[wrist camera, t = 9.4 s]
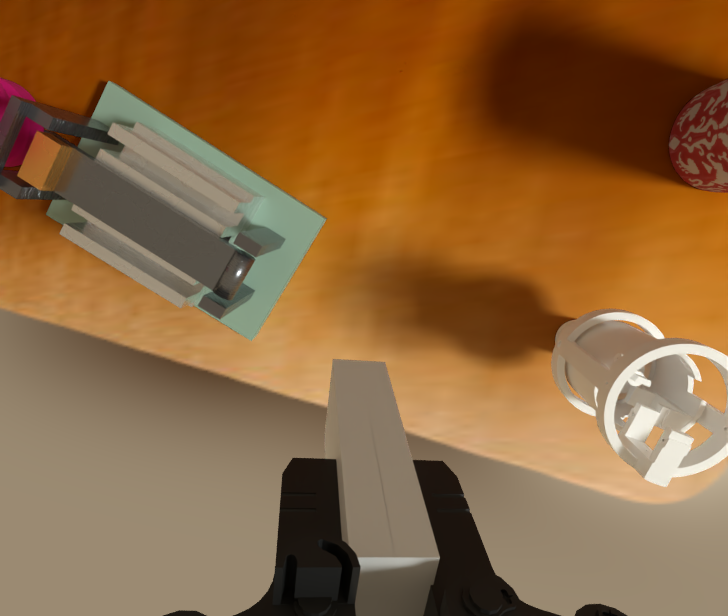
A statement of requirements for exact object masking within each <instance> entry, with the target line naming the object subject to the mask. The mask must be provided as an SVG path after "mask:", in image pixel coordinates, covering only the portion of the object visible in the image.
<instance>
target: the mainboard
mask: <svg viewBox="0 0 728 616" xmlns="http://www.w3.org/2000/svg"><path fill="white" fill-rule="evenodd" d="M91 118H92V119H96V120H98V121H100V122H102V123H103V124H105V125H106V126H108V127H111V125H112V123H113V122H114V123H117V124H120V125H124V126H127V127H130V128H134V126H135V124H136V122H139V123H142V124H145V125H148V126H151V127H154V128H157V129H159V130H161V131H162V132H164V133H165V134H167V135H168V136H170V137H172V138H173V139H175V140H176V141H178V142H179V143H181V144H183V145H184V146H186V147H187V148H189V149H190V150H192V151H194V152H195V153H197V154H198V155H200V156H201V157H203V158H205V159H206V160H208V161H209V162H211V163H212V164H214V165H216V166H217V167H219V168H220V169H222V170H223V171H225V172H226V173H228V174H230V175H231V176H233V177H234V178H236V179H237V180H239V181H241V182H242V183H244V184H245V185H247V186H248V187H250V188H252V189H253V190H255V191H256V192H258V193H259V194H261V195H263V196H264V197H265V199H264V200H263V202H262V204H261V206H260V207H259V209H258V211H257V213H256V215H255V216H254V218H253V220H252V222H251V223H250V225H249V227H248V229H247V230H246V231H248V230H254V229H260V228H266V227H268V228H269V229H271V230H272V231H274V232H275V233H277V234H279V235H280V236H282V237H283V238H285V239H286V240H285V241H284V243H283V245H282V246H281V248H280V249H277V250H274V251H272V252H269V253H266V254H264V255H261V256H258V257H254V256H253V257H254V258H255V262H254V264H253V265H252V267H251V269H250V270H249V272H248V274H247V276H246V277H245V279H244V281H243V282H242V283H244V284H245V285H247V286H249V287H250V288H252V289H253V290H255V292H254V294H253V296H252V297H251V299H250V300H249V301H247V302H246V303H244V304H242V305H241V306H239V307H238V308H236V309H235V310H233V311H232V312H230V313H229V314H227V315H226V316H224V317H223V318H221V319H218V318H216V317H215V316H213V315H212V314H210V313H208V312H207V311H205V310H203V309H202V308H200V307H199V306H198V304H197V305H195V307H197V308H199V309H200V310H202V311H203V312H205V313H207V314H208V315H210V316H212V317H213V318H215V319H217V320H218V321H220V322H221V323H223V324H225V325H226V326H228V327H230V328H231V329H233V330H234V331H236V332H238V333H239V334H241V335H243V336H244V337H246V338H247V339H249V340H251V341H252V340H253V339H254V338H255V337H256V336H257V334H258V332H259V331H260V329H261V327H262V326H263V324H264V322H265V321H266V319H267V317H268V316H269V314H270V312H271V311H272V309H273V307H274V306H275V304H276V302H277V301H278V299H279V297H280V296H281V294H282V292H283V291H284V289H285V287H286V286H287V284H288V283H289V281H290V279H291V278H292V276H293V274H294V273H295V271H296V269H297V268H298V266H299V264H300V263H301V261H302V259H303V258H304V256H305V254H306V253H307V251H308V249H309V248H310V246H311V244H312V243H313V241H314V239H315V238H316V236H317V234H318V233H319V231H320V229H321V228H322V226H323V224H324V223H325V221H326V220H327V218H325V217H324V216H322V215H321V214H319V213H317V212H316V211H314V210H313V209H311V208H310V207H308V206H307V205H305V204H303V203H302V202H300V201H299V200H297V199H296V198H294V197H292V196H291V195H289V194H288V193H286V192H285V191H283V190H282V189H280V188H278V187H277V186H275V185H274V184H272V183H271V182H269V181H267V180H266V179H264V178H263V177H261V176H260V175H258V174H257V173H255V172H253V171H252V170H250V169H249V168H247V167H246V166H244V165H242V164H241V163H239V162H238V161H236V160H235V159H233V158H232V157H230V156H228V155H227V154H225V153H224V152H222V151H221V150H219V149H217V148H216V147H214V146H213V145H211V144H210V143H208V142H207V141H205V140H203V139H202V138H200V137H199V136H197V135H196V134H194V133H192V132H191V131H189V130H188V129H186V128H185V127H183V126H182V125H180V124H178V123H177V122H175V121H174V120H172V119H171V118H169V117H167V116H166V115H164V114H163V113H161V112H160V111H158V110H157V109H155V108H153V107H152V106H150V105H149V104H147V103H146V102H144V101H142V100H141V99H139V98H138V97H136V96H135V95H133V94H132V93H130V92H128V91H127V90H125V89H124V88H122V87H121V86H119V85H117V84H115V83H113V82H111V81H108V83H107V85H106V87H105V89H104V92H103V94H102V96H101V98H100V100H99V102H98V104H97V106H96V109H95V111H94V113H93V115H92V117H91ZM124 146H125V145H124V144H122V143H121V142H119V143H118V145H113V144H109V143H104V142H100V141H95V140H91V139H86V138H81V141H80V143H79V145H78V148H80V149H82V150H83V151H85V152H86V153H88V154H89V155H91V156H93V157H94V158H96V157H97V154H98V152H99V150H100V148H101V149H106V150H111V151H116V152H122V150H123V148H124ZM72 207H73V203H71V202H70V201H68V200H52V202H51V204H50V207H49V209H48V211H47V213H46V215H47V216H49V217H51V218H52V219H54V220H55V221H57V222H59V223H60V224H62V225H64V223H79V222H87V221H88V220H87V219H85V218H83V217H82V216H80V215H79V214H77V213H75V212H74V211H72V210H71V209H72ZM237 248H239V249H241V248H240V247H238V246H237ZM241 250H243V249H241ZM243 251H244V250H243ZM245 252H246V251H245ZM247 253H248V252H247ZM250 255H251V254H250ZM251 256H252V255H251ZM212 291H213V290H212Z"/></svg>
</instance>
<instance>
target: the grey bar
mask: <svg viewBox="0 0 728 616" xmlns="http://www.w3.org/2000/svg"><path fill="white" fill-rule="evenodd" d="M17 176H18V177H20V178H21V179H23V180H25V181H26V182H28V183H29V184H31V185H33V186H34V187H36V188H37V189H39V190H41V191H54V192H55V193H57V194H59V195H60V196H62V197H63V198H65V199H67V200H68V201H70V202H71V203H73V204H75V205H76V206H78V207H79V208H81V209H83V210H84V211H86V212H87V213H89V214H91V215H92V216H94V217H95V218H97V219H99V220H100V221H102V222H103V223H105V224H107V225H108V226H110V227H111V228H113V229H115V230H116V231H118V232H120V233H121V234H123V235H124V236H126V237H128V238H129V239H131V240H132V241H134V242H136V243H137V244H139V245H140V246H142V247H144V248H145V249H147V250H148V251H150V252H152V253H153V254H155V255H156V256H158V257H160V258H161V259H163V260H164V261H166V262H168V263H169V264H171V265H172V266H174V267H176V268H177V269H179V270H180V271H182V272H184V273H185V274H187V275H189V276H190V277H192V278H193V279H195V280H197V281H198V282H200V283H201V284H203V285H205V286H206V287H208V288H209V289H211V290H213V292H214V293H215V294H216V295H218V296H219V297H221V298H223V299H226V300H233V298H234V296H235V295H236V293H237V291H238V289H239V288H240V286H241V284H242V282H243V281H244V279H245V277H246V276H247V274H248V272H249V270H250V269H251V267H252V265H253V264H254V262H255V258H254V257H253V256H251V255H250V254H249V253H247V252H245V251H243V250H241V249H239V248H237V247H235V246H234V245H232V244H231V243H229V242H227V241H226V240H224V239H223V238H221V237H220V236H218V235H216V234H215V233H213V232H212V231H210V230H208V229H207V228H205V227H204V226H202V225H200V224H199V223H197V222H196V221H194V220H193V219H191V218H189V217H188V216H186V215H185V214H183V213H181V212H180V211H178V210H177V209H175V208H174V207H172V206H170V205H169V204H167V203H166V202H164V201H162V200H161V199H159V198H158V197H156V196H154V195H153V194H151V193H150V192H148V191H147V190H145V189H143V188H142V187H140V186H139V185H137V184H135V183H134V182H132V181H131V180H129V179H128V178H126V177H124V176H123V175H121V174H120V173H118V172H116V171H115V170H113V169H112V168H110V167H108V166H107V165H105V164H104V163H102V162H100V161H99V160H97V159H96V158H94V157H93V156H91V155H89V154H88V153H86V152H85V151H83V150H82V149H80V148H78V147H77V146H75V145H74V144H72V143H70V142H69V141H67V140H66V139H64V138H62V137H61V136H59V135H58V134H56V133H55V132H52V131H48V130H44V132H41V131H37V132H36V134H35V137H34V139H33V141H32V143H31V146H30V148H29V150H28V152H27V154H26V157H25V159H24V161H23V163H22V166H21V168H20V170H19V172H18V175H17Z"/></svg>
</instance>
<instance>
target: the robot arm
mask: <svg viewBox="0 0 728 616" xmlns="http://www.w3.org/2000/svg"><path fill="white" fill-rule="evenodd" d="M324 442H325V459H314V458H293V459H292V460H291V462H290V463H289V465H288V466H287V468H286V469H285V471H284V472H283V474H282V487H281V500H280V513H279V526H278V527H279V528H278V540H277V553H276V566H275V574H274V578H273V582H272V584H271V586H270V588H269V590H268V592H267V593H266V594H265V595H264V596H263V597H262V599H261V600H260V601H259V602H257V603H256V604H255V605H253V606H252V607H251V608H249V609H247V610H245V611H243V612H241V613H239V614H237V615H234V616H560V615H557V614H554V613H550V612H547V611H543V610H540V609H538V608H535V607H533V606H530V605H528V604H526V603H524V602H522V601H521V600H519V598H518V596H517V595H516V593H515V591H514V590H513V588H512V587H510V586H509V585H508V584H507V583H506V582H505V581H504V580H503V579H502V578H500V577H499V576H497V575H495V573H494V570H493V568H492V566H491V563H490V561H489V558H488V555H487V553H486V550H485V548H484V545H483V543H482V540H481V537H480V535H479V532H478V530H477V527H476V524H475V522H474V519H473V517H472V514H471V513H470V511H469V510H470V509H469V506H468V504H467V501H466V499H465V498H464V493H463V491H462V489H461V486H460V483H459V480H458V478H457V476H456V475H455V474H454V473H453V472H452V471H451V470H450V468H449V467H448V466H447V465H446V464H445V463H444V462H443V461H426V460H412V457H411V453H410V449H409V446H408V443H407V439H406V435H405V432H404V428H403V424H402V421H401V417H400V414H399V410H398V407H397V403H396V400H395V396H394V392H393V389H392V385H391V382H390V378H389V375H388V371H387V367H386V364H385V362H375V361H357V360H340V359H333V363H332V372H331V382H330V391H329V400H328V409H327V418H326V428H325V436H324ZM164 616H206V615H204V614H201V613H200V612H197V611H176V612H173V613H170V614H167V615H164ZM575 616H627V615H625V614H624V613H622V612H620V611H619V610H617V609H615V608H612V607H608V606H605V605H602V604H589V605H585V606H583V607H582V608H581V609H579V610H577V611H576V614H575Z"/></svg>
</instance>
